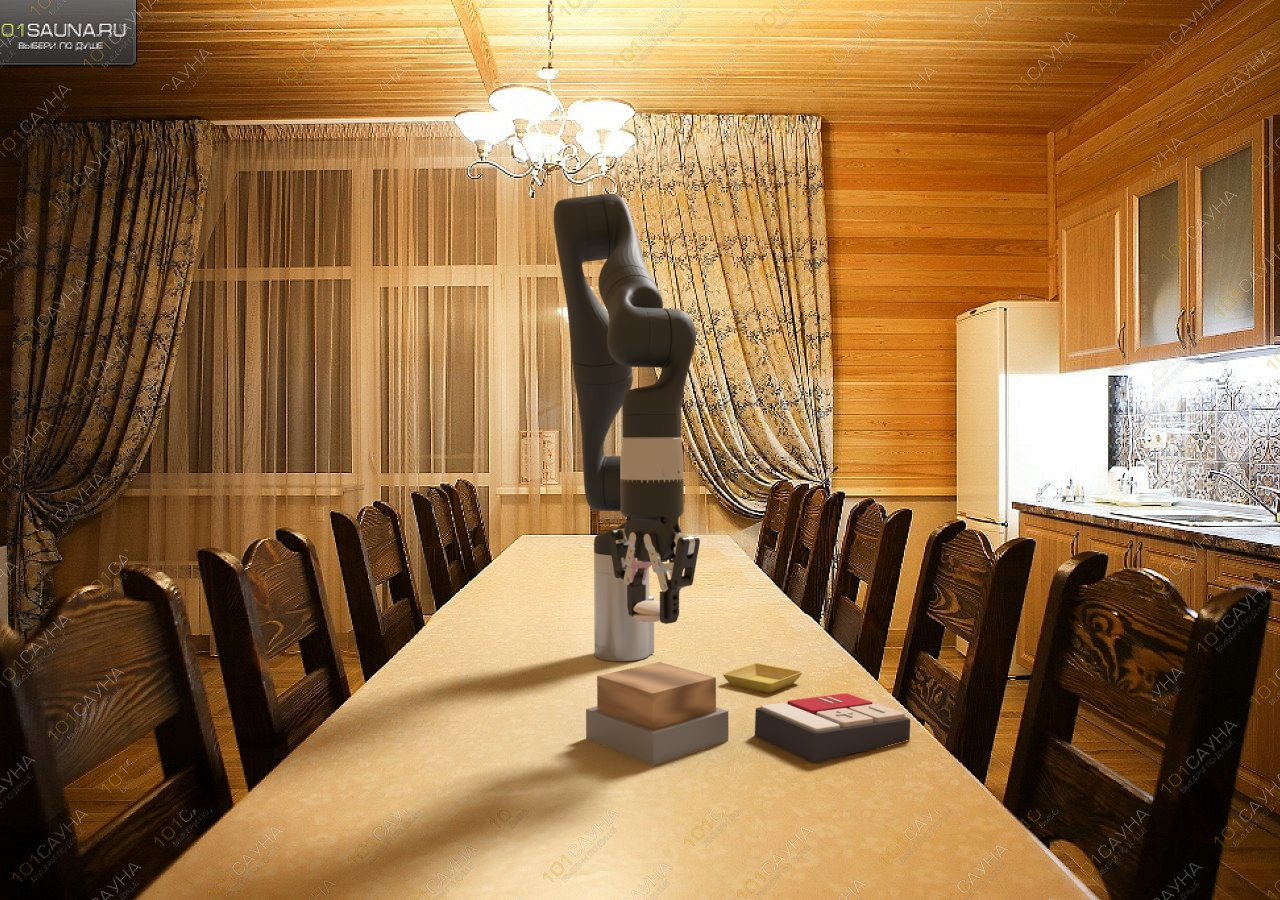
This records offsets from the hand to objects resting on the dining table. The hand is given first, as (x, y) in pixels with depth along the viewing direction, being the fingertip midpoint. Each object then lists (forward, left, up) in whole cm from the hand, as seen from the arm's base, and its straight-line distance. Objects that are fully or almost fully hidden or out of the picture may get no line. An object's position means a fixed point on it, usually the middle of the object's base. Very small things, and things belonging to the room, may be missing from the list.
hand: (652, 618), depth 103 cm
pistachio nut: (0, 0, -1) cm, 1 cm away
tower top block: (0, 0, -11) cm, 11 cm away
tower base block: (0, 0, -15) cm, 15 cm away
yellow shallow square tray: (-28, -7, -15) cm, 33 cm away
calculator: (-16, +14, -15) cm, 26 cm away
